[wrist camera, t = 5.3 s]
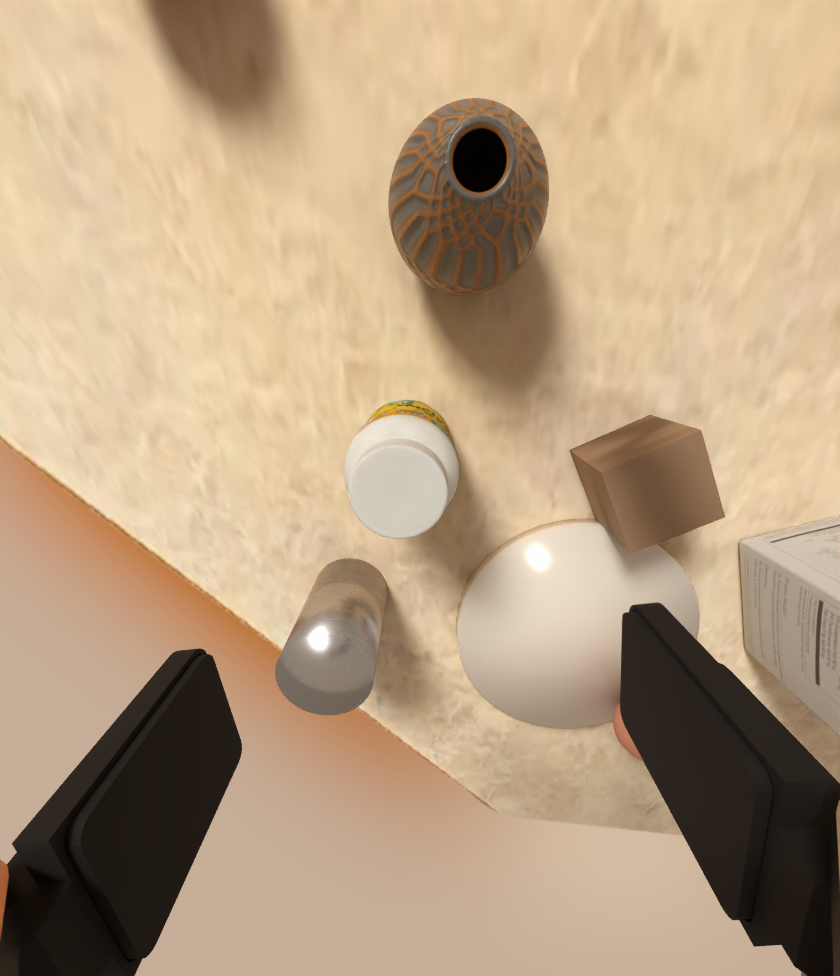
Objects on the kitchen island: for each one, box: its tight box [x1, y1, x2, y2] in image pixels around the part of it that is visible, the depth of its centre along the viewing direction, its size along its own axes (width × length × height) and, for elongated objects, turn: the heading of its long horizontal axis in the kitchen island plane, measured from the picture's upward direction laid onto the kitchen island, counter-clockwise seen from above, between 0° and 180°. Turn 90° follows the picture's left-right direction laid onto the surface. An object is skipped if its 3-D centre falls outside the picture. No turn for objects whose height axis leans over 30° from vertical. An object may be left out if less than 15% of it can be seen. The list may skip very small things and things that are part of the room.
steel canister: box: [275, 559, 387, 715], centre depth 25 cm, size 5×5×8 cm
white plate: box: [457, 519, 700, 728], centre depth 29 cm, size 16×16×1 cm
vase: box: [389, 98, 549, 295], centre depth 18 cm, size 7×7×9 cm
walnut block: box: [570, 415, 725, 554], centre depth 24 cm, size 5×5×5 cm
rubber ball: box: [613, 702, 643, 761], centre depth 28 cm, size 4×4×4 cm
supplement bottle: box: [344, 400, 459, 539], centre depth 21 cm, size 5×5×10 cm
